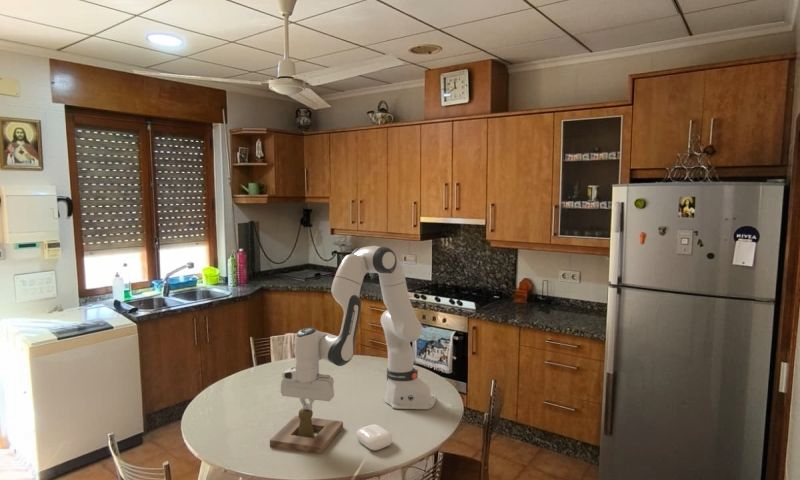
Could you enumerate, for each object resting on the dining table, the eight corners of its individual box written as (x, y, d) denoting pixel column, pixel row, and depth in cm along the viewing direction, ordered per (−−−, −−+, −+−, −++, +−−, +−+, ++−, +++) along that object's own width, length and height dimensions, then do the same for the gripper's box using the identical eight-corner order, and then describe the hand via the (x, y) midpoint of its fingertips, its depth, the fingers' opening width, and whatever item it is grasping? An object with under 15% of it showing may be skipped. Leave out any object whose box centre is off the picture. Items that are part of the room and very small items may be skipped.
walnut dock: (343, 429, 183) (343, 421, 183) (321, 455, 164) (321, 447, 164) (296, 422, 189) (295, 415, 188) (269, 448, 169) (269, 439, 169)
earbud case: (375, 432, 181) (375, 419, 181) (396, 446, 171) (396, 432, 170) (352, 441, 175) (352, 427, 174) (372, 456, 165) (372, 441, 164)
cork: (315, 433, 180) (314, 405, 179) (312, 441, 174) (312, 412, 173) (299, 433, 180) (298, 405, 179) (296, 442, 174) (295, 412, 173)
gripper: (336, 372, 175) (337, 408, 176) (286, 367, 180) (287, 402, 181) (329, 378, 169) (330, 416, 170) (278, 373, 174) (278, 409, 175)
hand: (307, 409), depth 175 cm, fingers closed
